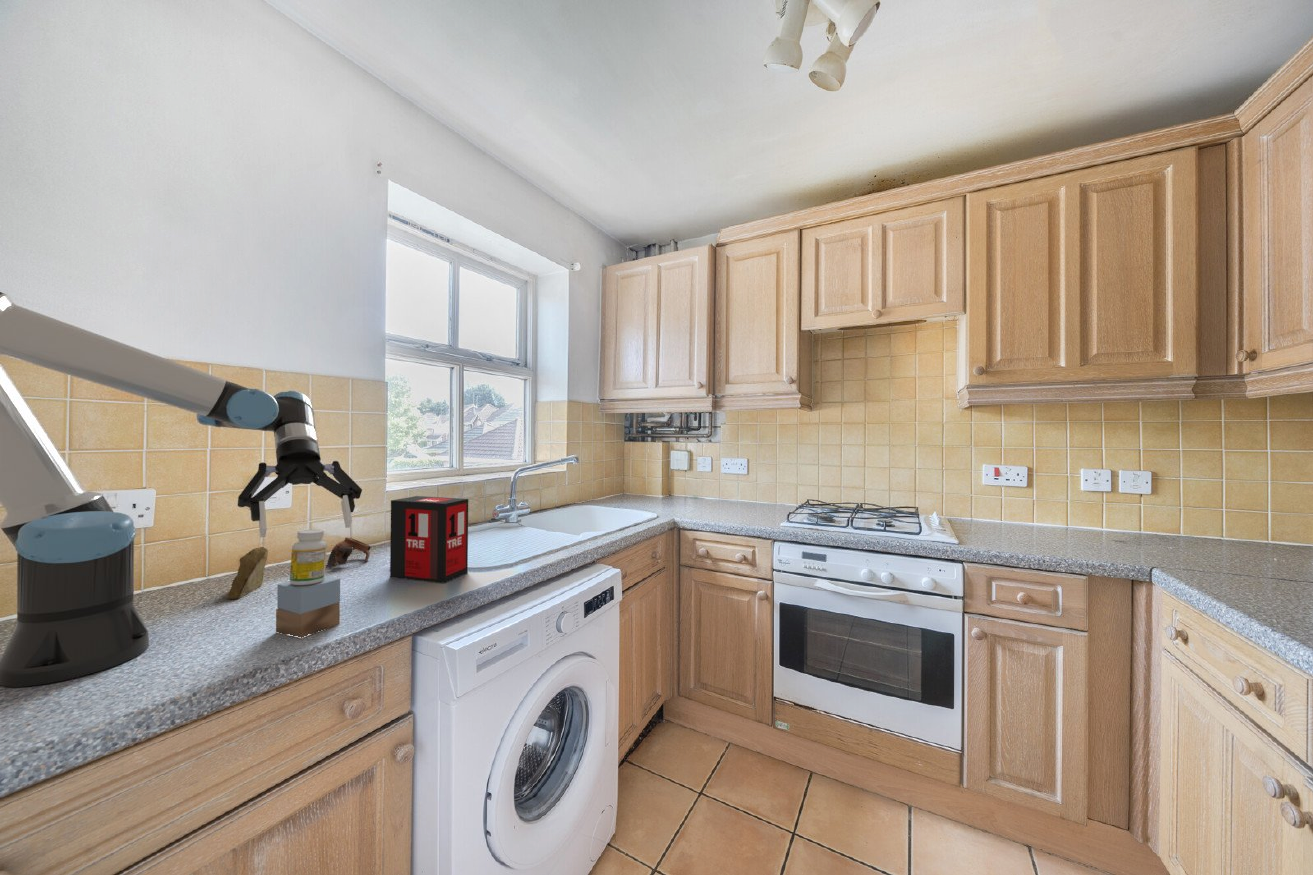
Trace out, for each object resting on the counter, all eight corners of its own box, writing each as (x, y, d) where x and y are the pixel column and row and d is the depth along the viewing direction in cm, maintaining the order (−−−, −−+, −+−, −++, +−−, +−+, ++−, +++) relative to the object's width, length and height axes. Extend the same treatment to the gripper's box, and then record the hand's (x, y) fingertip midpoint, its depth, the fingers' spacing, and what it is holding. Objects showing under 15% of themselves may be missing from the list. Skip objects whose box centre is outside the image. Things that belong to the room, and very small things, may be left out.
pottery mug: (329, 562, 133) (346, 535, 136) (361, 575, 135) (378, 548, 138) (315, 562, 122) (334, 533, 125) (351, 576, 124) (369, 547, 127)
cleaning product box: (390, 577, 118) (390, 500, 118) (416, 567, 127) (416, 495, 127) (444, 583, 114) (445, 503, 114) (467, 573, 123) (468, 498, 123)
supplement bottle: (319, 584, 86) (322, 533, 86) (284, 586, 84) (288, 534, 84) (328, 576, 91) (331, 528, 91) (295, 578, 89) (299, 528, 89)
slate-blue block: (300, 614, 83) (300, 589, 83) (277, 608, 86) (277, 584, 86) (340, 601, 89) (340, 578, 89) (317, 596, 92) (317, 574, 92)
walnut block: (301, 639, 83) (301, 614, 83) (276, 633, 85) (276, 609, 85) (339, 624, 90) (339, 601, 89) (315, 618, 92) (315, 596, 92)
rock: (244, 591, 100) (286, 571, 110) (219, 560, 100) (264, 543, 110) (215, 616, 102) (259, 595, 112) (190, 586, 102) (236, 567, 112)
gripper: (360, 458, 112) (375, 530, 102) (219, 461, 94) (221, 549, 84) (366, 437, 108) (383, 510, 98) (220, 436, 90) (222, 525, 80)
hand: (308, 528), depth 91 cm, fingers open, 13 cm apart
